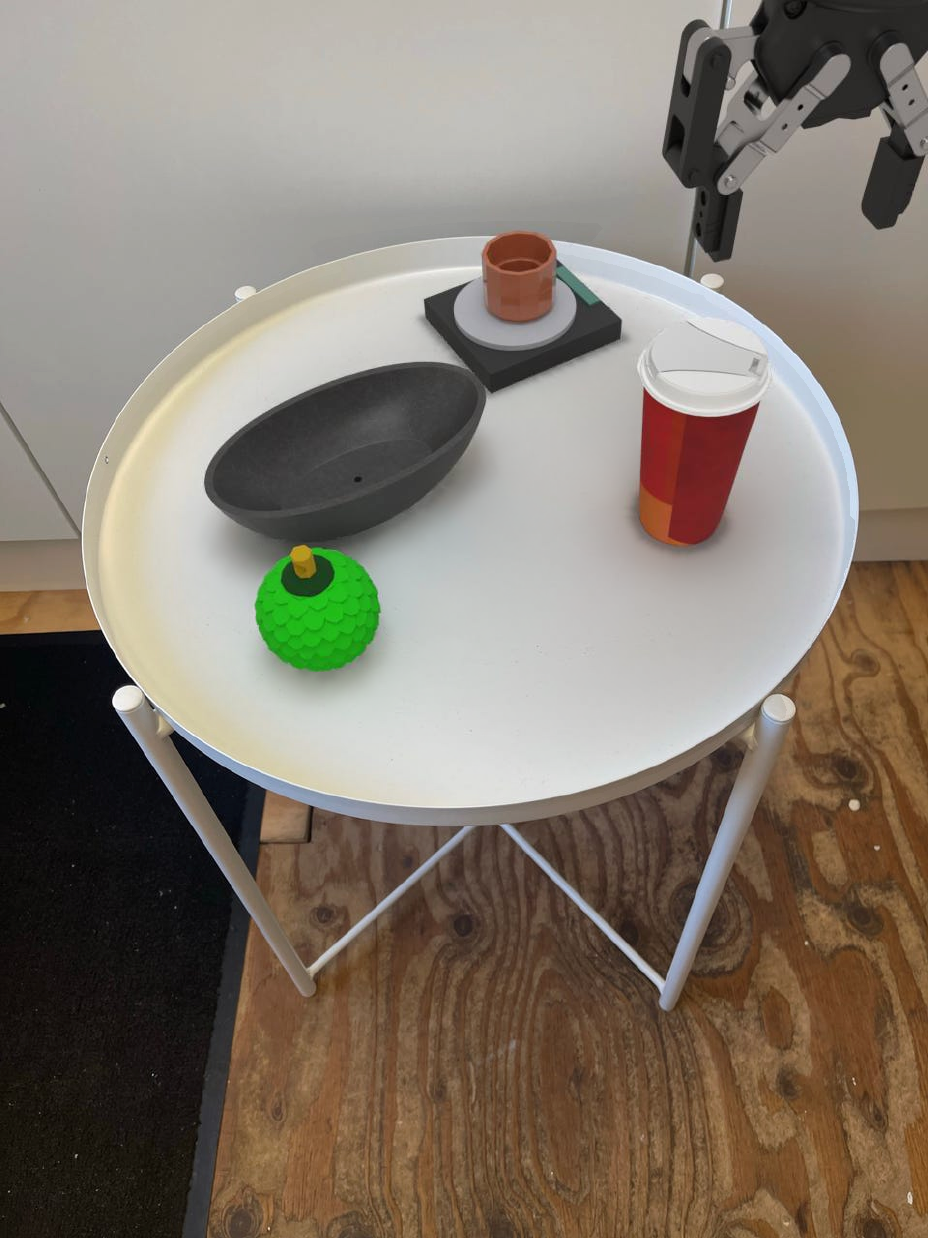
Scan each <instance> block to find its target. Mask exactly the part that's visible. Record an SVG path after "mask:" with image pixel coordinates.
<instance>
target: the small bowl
mask: <svg viewBox="0 0 928 1238" xmlns="http://www.w3.org/2000/svg"><path fill="white" fill-rule="evenodd" d="M557 254H558V251H557V249H556V247H555V244H554V243H553V241H552V239H550V238H548V237H546V236H544V235H542V233H541V234H540V233H538V232H536V231H527V230H526V231H524V230H515V231H514V230H513V231H509V232H504V233H503V232H502V233H500V234H498V235H496V236H495V237H493V238H492V239H490V240H488V241H486V243H485V246H484V247H483V250H482V252H481V271H482V272H481V273H482V276H483V293H484V301H485V303H486V306H487V308H488V310H489V311H490V312H492V313H493V314H495V315H496V316H497V317H499V318H501V319H503V320H506V321H510V322H527V321H531V320H534V319H537V318H539V317H540V316H542V315H543V314H544V313H545V312H547V311H548V310H550V309H551V308H552V305H553V303H554V300H555V297H556V259H558V258H557V257H558V256H557Z"/></svg>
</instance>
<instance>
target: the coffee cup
mask: <svg viewBox="0 0 928 1238" xmlns="http://www.w3.org/2000/svg"><path fill="white" fill-rule="evenodd" d="M636 365H637V366H636V371H637V373H638V377H639V378H640V382H641V384H642V386H643V389H642V390H643V391H642V411H641V412H642V415H641V435H640V456H639V457H640V458H639V459H640V460H639V485H638V486H639V487H638V515H639V521H640V523H641V525H642V528H643V529H644V531H646V533H647V534H649V535H650V536H651V537H652V538H654V539H656V540H658V541H659V542H661V543H664V544H667V545H671V546H679V547H686V546H687V547H688V546H694V545H697V544H700V543H703V542H704V541H706V540H708V539H710V538H711V537H712V536H713V535H714V534H715V532H717V529H718V528H719V526H720V523H721V520H722V518H723V515H724V512H725V510H726V507H727V505H728V504H727V503H728V501H729V498H730V495H731V492H732V489H733V486H734V482H735V480H736V476H737V474H738V470H739V467H740V465H741V461H742V458H743V455H744V452H745V449H746V446H747V444H748V440H749V437H750V435H751V432H752V428H753V426H754V423H755V420H756V418H757V414H758V410H759V408H760V405H761V401H762V400H763V399H764V398H765V397H766V396H767V394H768V392H769V390H770V389H771V386H772V382H773V369H772V366H771V363H770V361H769V353H768V351H767V348H766V346H765V344H764V342H763V341H762V339H761V338H760V337H759V336H758V335H757V334H756V333H754V332H753V331H752V330H750V329H749V328H748V327H746V326H743V325H742V324H739V323H737V322H734V321H731V320H727V319H724V318H719V317H693V318H687V319H684V320H682V321H678V322H676V323H674V324H672V325H669V326H667V327H666V328H665V329H662V330H661V331H660V333H659V334H657V335H656V336H655V337H653V338H652V339H651V340H650V341H649V343H647V346H646V347H645V348H644V349H643V351H642V352H641V353H640V355H639V358H638V360H637V364H636Z"/></svg>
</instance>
